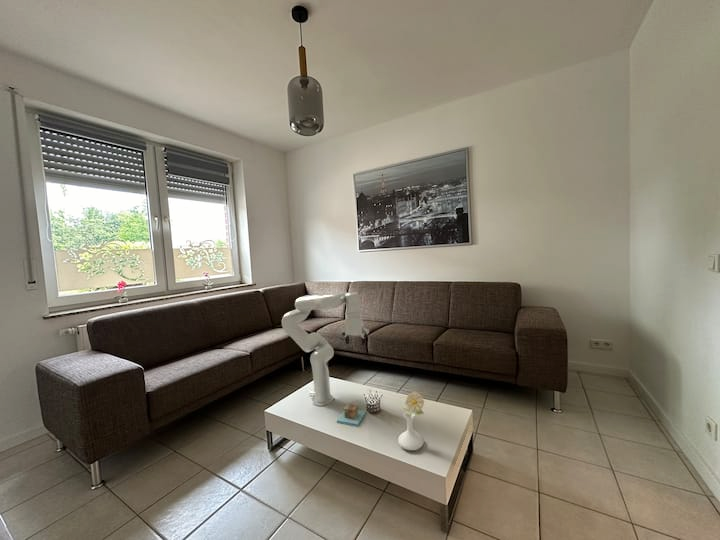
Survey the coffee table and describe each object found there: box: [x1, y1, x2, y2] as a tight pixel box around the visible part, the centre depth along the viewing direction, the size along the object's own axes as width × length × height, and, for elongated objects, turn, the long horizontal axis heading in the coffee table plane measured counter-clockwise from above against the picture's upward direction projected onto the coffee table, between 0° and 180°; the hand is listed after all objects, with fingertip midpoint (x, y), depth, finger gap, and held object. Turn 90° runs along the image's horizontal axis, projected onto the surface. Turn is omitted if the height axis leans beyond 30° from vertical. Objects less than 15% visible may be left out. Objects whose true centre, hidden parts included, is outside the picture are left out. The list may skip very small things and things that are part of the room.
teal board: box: [336, 409, 367, 427], centre depth 151 cm, size 12×12×1 cm
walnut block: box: [343, 402, 359, 419], centre depth 151 cm, size 6×6×5 cm
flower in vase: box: [397, 391, 425, 451], centre depth 127 cm, size 13×11×25 cm
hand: (355, 344), depth 160 cm, fingers open, 9 cm apart
